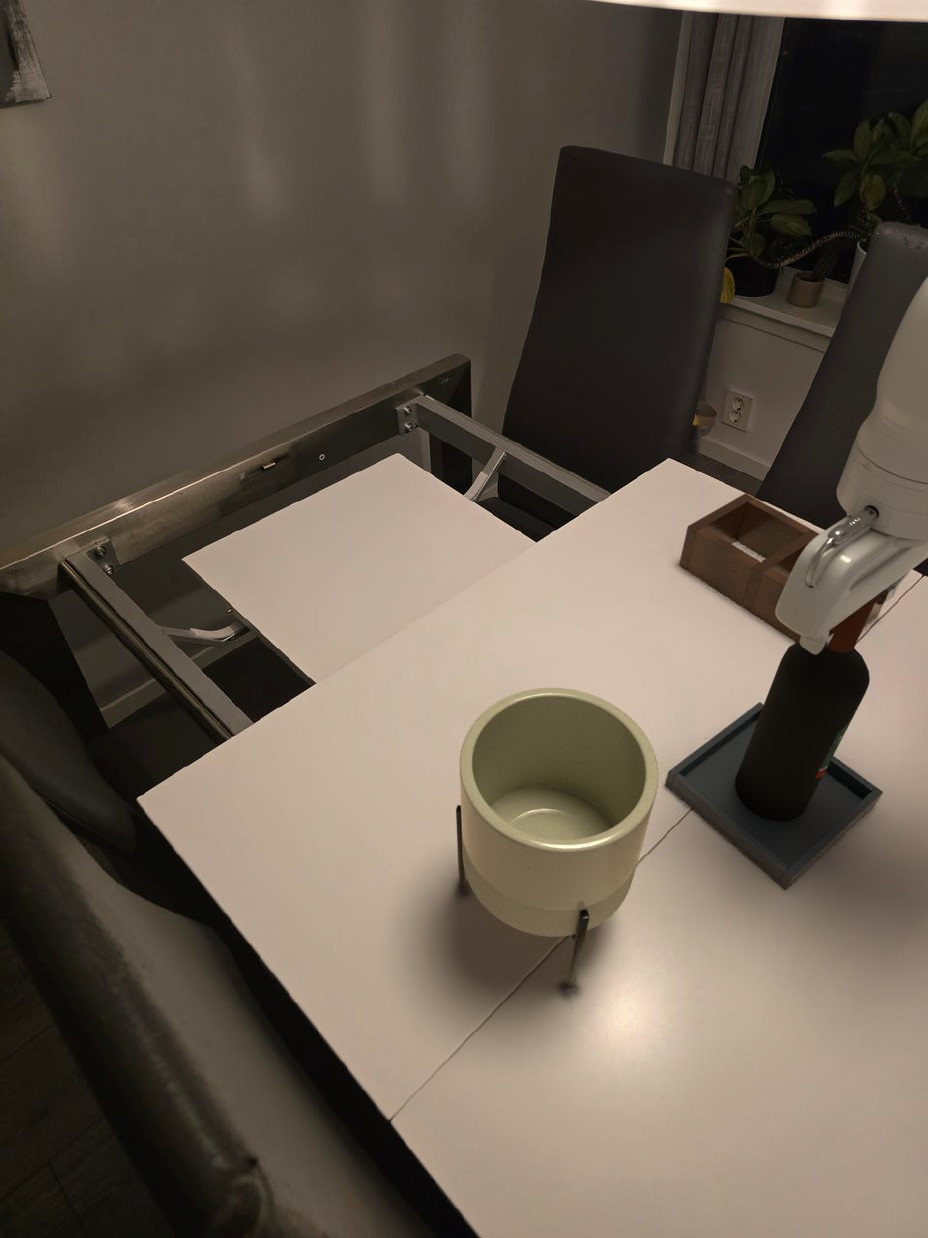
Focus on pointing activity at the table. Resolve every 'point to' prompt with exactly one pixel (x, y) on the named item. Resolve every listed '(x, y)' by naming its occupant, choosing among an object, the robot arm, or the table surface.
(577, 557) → the table surface
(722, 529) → the divided storage box
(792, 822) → the tray
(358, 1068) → the table surface
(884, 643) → the table surface
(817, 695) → the wine bottle
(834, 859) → the table surface
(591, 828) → the planter
